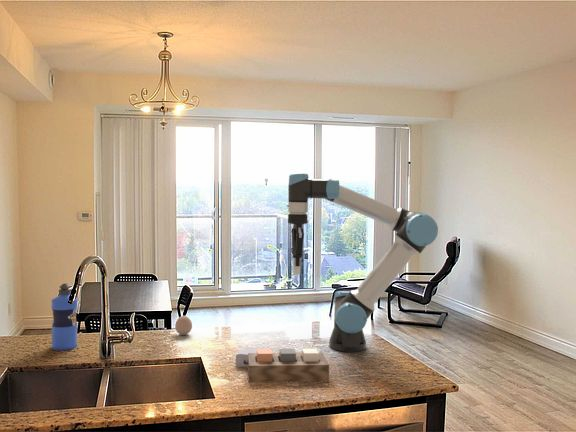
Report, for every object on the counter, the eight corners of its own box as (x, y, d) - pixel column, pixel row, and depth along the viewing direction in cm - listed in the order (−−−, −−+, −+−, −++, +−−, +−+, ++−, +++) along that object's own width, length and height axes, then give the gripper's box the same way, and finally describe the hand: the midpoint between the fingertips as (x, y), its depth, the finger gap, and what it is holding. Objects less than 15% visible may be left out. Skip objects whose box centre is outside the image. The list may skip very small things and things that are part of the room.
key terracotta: (271, 365, 182) (271, 348, 181) (272, 370, 177) (272, 353, 176) (256, 365, 181) (256, 348, 181) (257, 371, 176) (257, 353, 176)
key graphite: (293, 365, 183) (294, 348, 182) (295, 370, 177) (296, 353, 177) (279, 365, 182) (279, 348, 182) (280, 370, 177) (280, 353, 177)
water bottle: (80, 343, 208) (81, 282, 207) (71, 350, 199) (72, 286, 197) (57, 343, 208) (57, 281, 206) (47, 350, 198) (47, 285, 197)
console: (322, 367, 188) (322, 352, 187) (328, 380, 175) (329, 364, 175) (247, 368, 185) (247, 353, 184) (248, 381, 172) (249, 365, 172)
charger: (269, 355, 200) (260, 368, 185) (246, 353, 202) (235, 366, 187) (269, 343, 200) (260, 355, 185) (246, 341, 201) (235, 353, 187)
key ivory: (316, 365, 183) (316, 348, 183) (318, 370, 178) (319, 353, 178) (301, 365, 183) (302, 348, 183) (303, 370, 178) (304, 353, 177)
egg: (184, 338, 219) (184, 318, 219) (171, 335, 223) (171, 316, 222) (195, 334, 225) (195, 315, 225) (182, 331, 229) (183, 313, 229)
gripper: (285, 212, 205) (284, 271, 206) (291, 214, 192) (290, 277, 193) (304, 212, 206) (302, 271, 207) (310, 214, 193) (309, 277, 195)
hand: (296, 274), depth 200 cm, fingers closed
